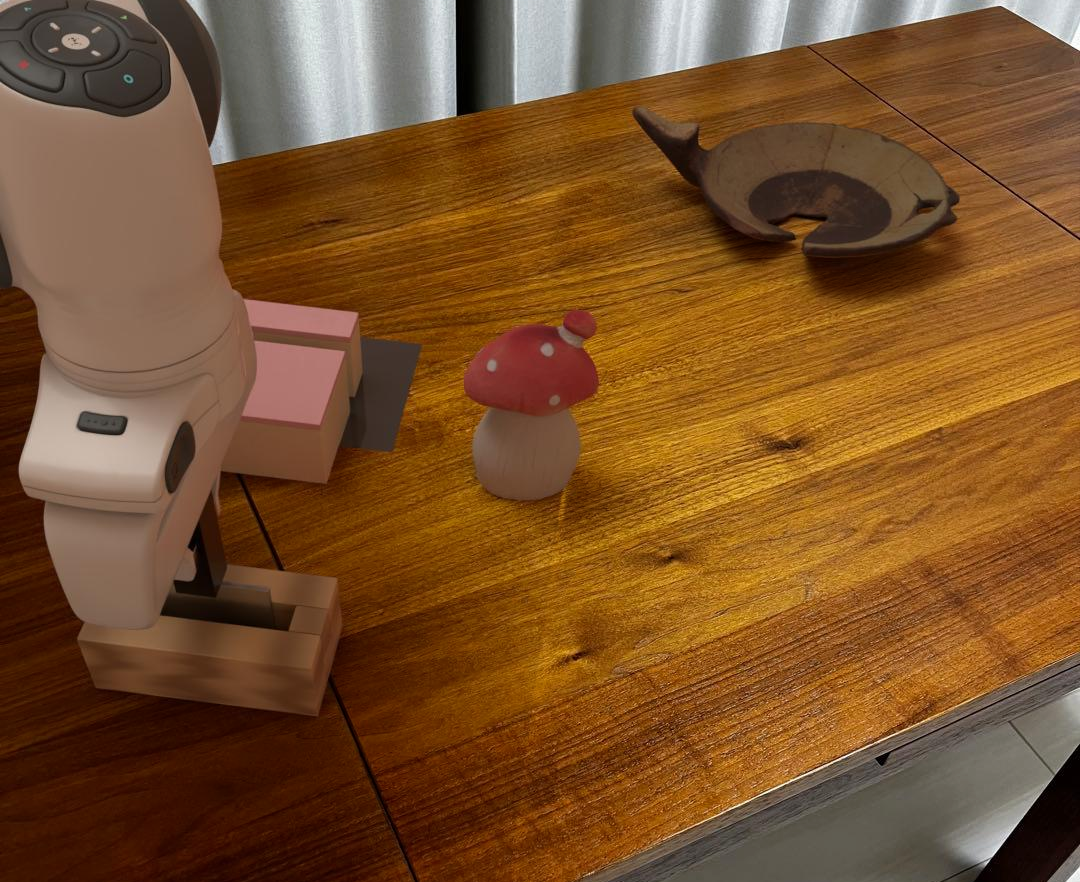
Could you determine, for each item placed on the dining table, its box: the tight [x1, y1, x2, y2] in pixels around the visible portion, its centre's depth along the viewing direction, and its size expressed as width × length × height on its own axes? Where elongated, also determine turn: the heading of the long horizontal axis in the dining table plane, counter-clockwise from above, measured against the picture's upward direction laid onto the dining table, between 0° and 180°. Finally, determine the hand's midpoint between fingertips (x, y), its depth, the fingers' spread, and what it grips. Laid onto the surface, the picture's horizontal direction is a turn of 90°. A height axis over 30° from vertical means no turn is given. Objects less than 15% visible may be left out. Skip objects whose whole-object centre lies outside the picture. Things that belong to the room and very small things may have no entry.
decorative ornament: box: [463, 309, 600, 501], centre depth 84 cm, size 9×6×15 cm
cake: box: [221, 341, 350, 485], centre depth 87 cm, size 10×8×6 cm
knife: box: [160, 490, 277, 630], centre depth 70 cm, size 8×2×15 cm, turn 84°
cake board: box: [339, 336, 423, 453], centre depth 92 cm, size 18×18×1 cm
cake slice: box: [243, 298, 363, 397], centre depth 92 cm, size 10×3×6 cm, turn 84°
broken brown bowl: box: [631, 105, 961, 259], centre depth 112 cm, size 22×30×8 cm
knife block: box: [76, 563, 344, 717], centre depth 74 cm, size 14×7×6 cm, turn 84°
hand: (193, 545), depth 68 cm, fingers closed on knife, 2 cm apart
